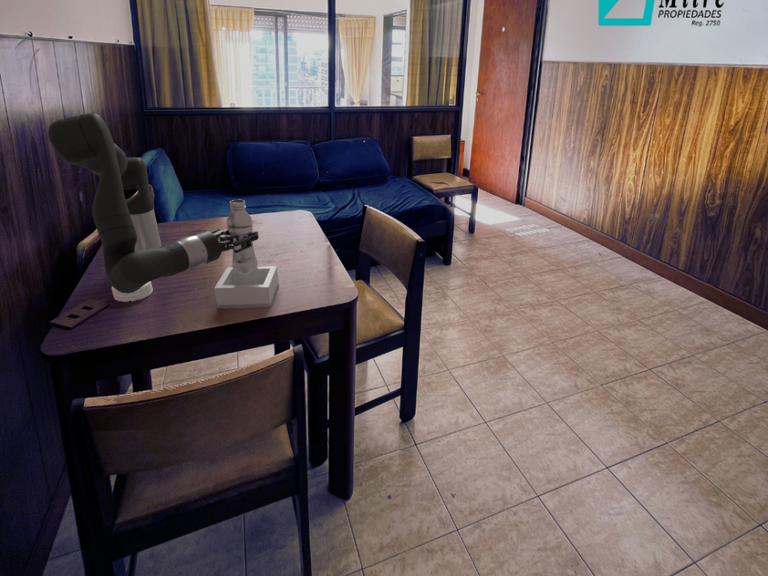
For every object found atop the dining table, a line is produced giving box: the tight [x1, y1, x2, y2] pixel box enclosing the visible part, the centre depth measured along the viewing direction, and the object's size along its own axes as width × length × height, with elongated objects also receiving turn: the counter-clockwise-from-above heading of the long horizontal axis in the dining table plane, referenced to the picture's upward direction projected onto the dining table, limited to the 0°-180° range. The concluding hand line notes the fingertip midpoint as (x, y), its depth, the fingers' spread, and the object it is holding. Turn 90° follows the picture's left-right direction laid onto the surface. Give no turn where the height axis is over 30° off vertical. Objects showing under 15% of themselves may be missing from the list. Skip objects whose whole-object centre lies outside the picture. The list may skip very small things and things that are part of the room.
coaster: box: [111, 281, 153, 303], centre depth 135 cm, size 10×10×4 cm
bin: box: [213, 265, 280, 309], centre depth 133 cm, size 14×14×6 cm
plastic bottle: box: [226, 199, 259, 275], centre depth 127 cm, size 6×7×20 cm
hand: (247, 232), depth 128 cm, fingers closed on plastic bottle, 6 cm apart
